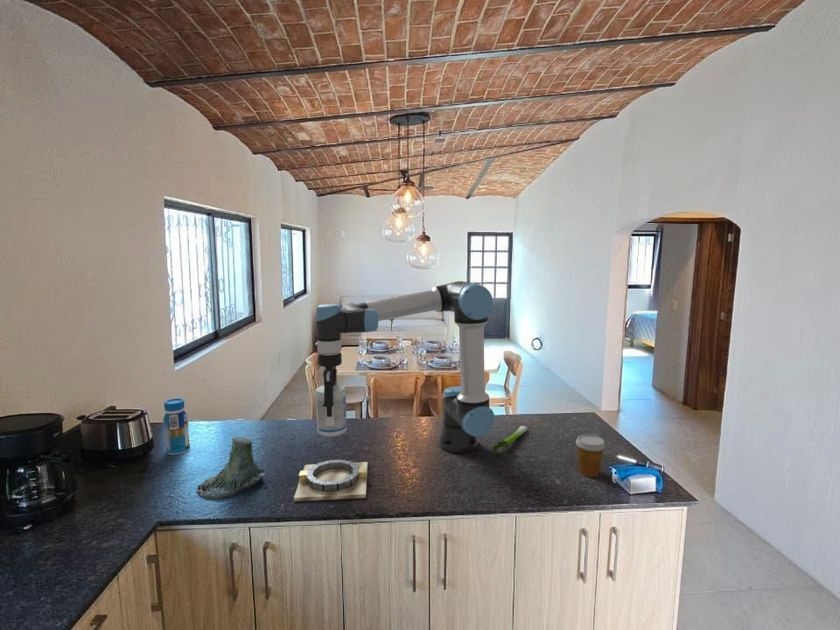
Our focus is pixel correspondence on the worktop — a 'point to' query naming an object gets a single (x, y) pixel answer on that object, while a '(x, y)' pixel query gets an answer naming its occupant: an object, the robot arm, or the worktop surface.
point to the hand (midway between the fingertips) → (331, 419)
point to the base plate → (332, 475)
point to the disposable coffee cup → (589, 454)
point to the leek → (510, 439)
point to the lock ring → (332, 485)
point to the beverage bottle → (176, 427)
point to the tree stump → (233, 473)
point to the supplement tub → (339, 411)
